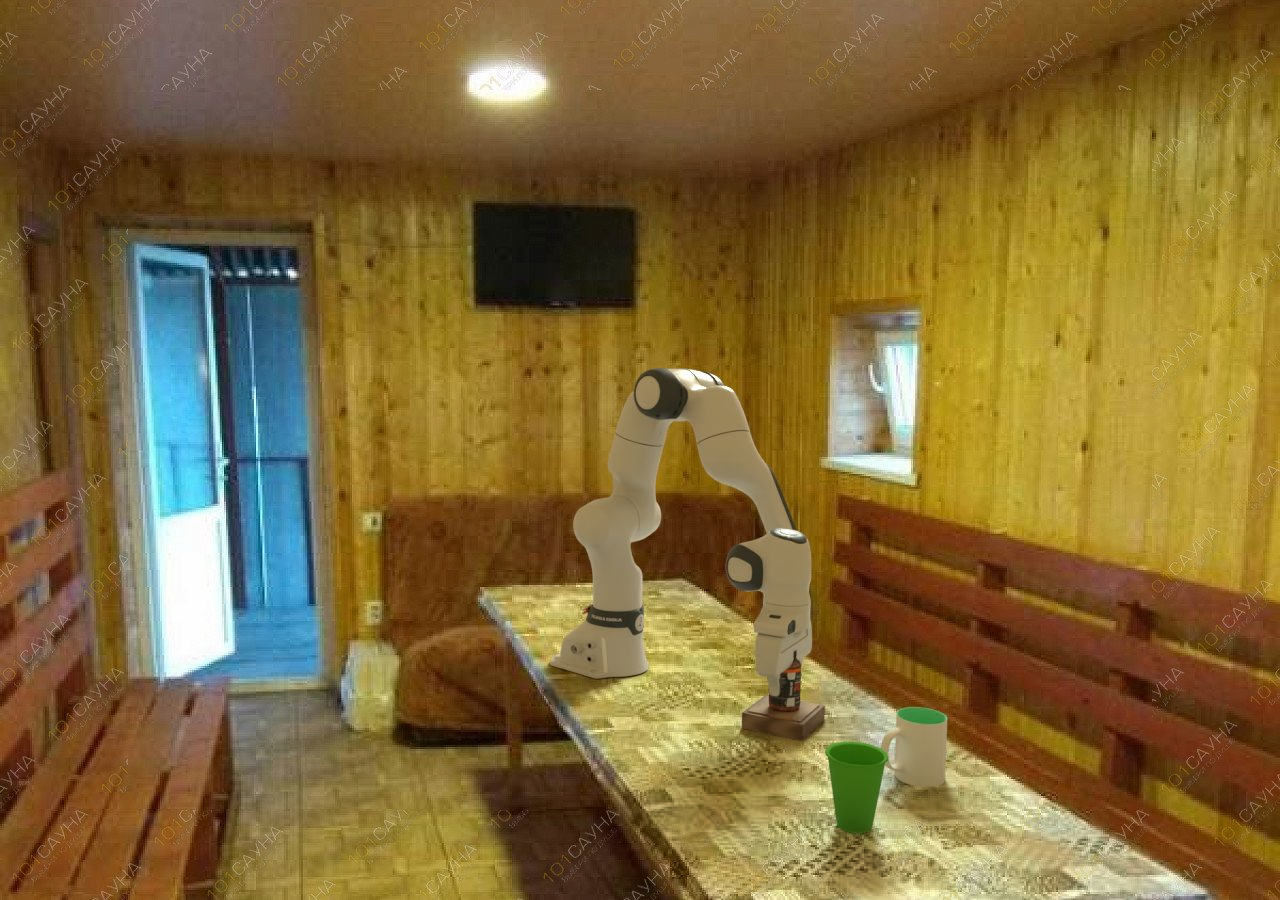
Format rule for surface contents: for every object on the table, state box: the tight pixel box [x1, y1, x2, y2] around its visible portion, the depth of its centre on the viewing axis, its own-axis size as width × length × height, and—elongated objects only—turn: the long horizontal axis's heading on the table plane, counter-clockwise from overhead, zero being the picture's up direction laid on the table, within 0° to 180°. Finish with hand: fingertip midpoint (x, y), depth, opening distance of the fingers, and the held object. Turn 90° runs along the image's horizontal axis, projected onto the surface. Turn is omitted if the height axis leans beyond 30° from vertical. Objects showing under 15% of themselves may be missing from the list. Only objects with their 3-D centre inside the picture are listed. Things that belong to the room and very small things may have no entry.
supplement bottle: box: [768, 650, 802, 711], centre depth 180 cm, size 6×6×11 cm
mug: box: [880, 706, 948, 788], centre depth 156 cm, size 12×8×10 cm, turn 120°
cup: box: [824, 741, 889, 834], centre depth 140 cm, size 9×9×11 cm
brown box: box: [741, 694, 826, 742], centre depth 181 cm, size 12×12×3 cm
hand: (784, 687), depth 180 cm, fingers open, 8 cm apart
